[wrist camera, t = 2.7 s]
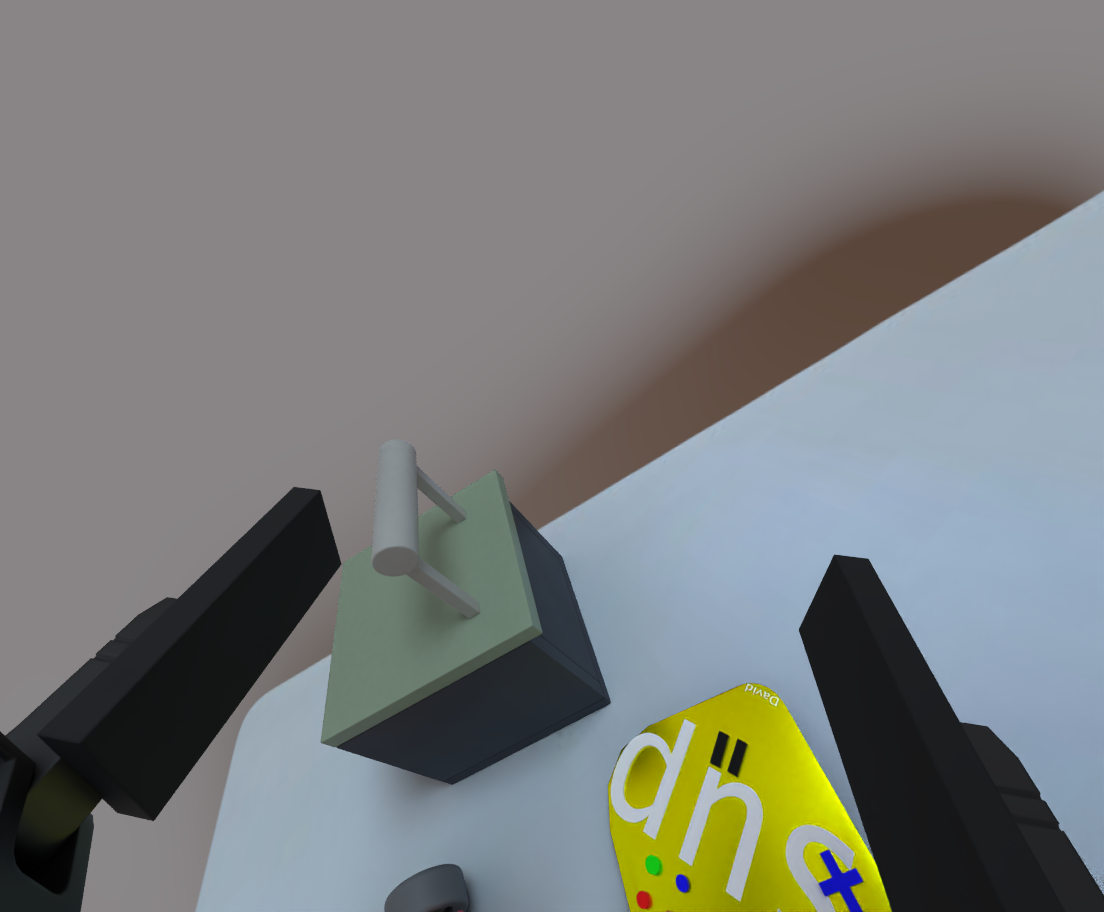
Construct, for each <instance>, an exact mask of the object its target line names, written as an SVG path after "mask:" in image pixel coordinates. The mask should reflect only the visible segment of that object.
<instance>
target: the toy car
mask: <svg viewBox="0 0 1104 912" xmlns="http://www.w3.org/2000/svg"><path fill="white" fill-rule="evenodd" d="M468 905H469V900H468V895H467V890H466V885H465V881H464V876H463V872H462V870H461V868H460V867H459V866H457V865H454V864H443V865H438V866H434V867H431V868H428V869H426V870H423V871H421V872H419V873H417V874H415V875H413V876H412V877H410V878H408V879H407V880H405V881H404V882H402V883H401V884H400V885H399V886H397V887H396V888H395V889H394V890H393V891H392V892H391V893H390V895H389V896H388V898H387V900H386V902H385V909H384V910H385V912H466V911H467V909H468Z"/></svg>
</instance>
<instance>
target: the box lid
mask: <svg viewBox="0 0 1104 912" xmlns="http://www.w3.org/2000/svg"><path fill="white" fill-rule="evenodd" d="M377 470H378V471H377V484H376V499H375V512H374V529H373V542H372V546H370V547H368V548H367V549H365V550H363V551H362V552H360V553H358V554H357V555H355V556H354V557H352V558H350V559H349V560H347V561H346V562H344V564H343V571H342V579H341V587H340V594H339V603H338V610H337V618H336V627H335V634H334V642H333V650H332V657H331V665H330V673H329V681H328V689H327V697H326V705H325V712H324V720H323V728H322V736H321V743H323V744H326V745H329V746H332V747H337V746H339V745H340V744H342V743H344V742H346V741H348V740H350V739H351V738H353V737H355V736H357V735H359V734H360V733H362V732H364V731H366V730H368V729H369V728H371V727H373V726H375V725H377V724H379V723H380V722H382V721H384V720H386V719H388V718H389V717H391V716H393V715H395V714H397V713H399V712H400V711H402V710H404V709H406V708H408V707H409V706H411V705H413V704H415V703H417V702H419V701H420V700H422V699H424V698H426V697H428V696H429V695H431V694H433V693H435V692H437V691H439V690H440V689H442V688H444V687H446V686H448V685H449V684H451V683H453V682H455V681H457V680H459V679H460V678H462V677H464V676H466V675H468V674H469V673H471V672H473V671H475V670H477V669H479V668H480V667H482V666H484V665H486V664H488V663H489V662H491V661H493V660H495V659H497V658H499V657H500V656H502V655H504V654H506V653H508V652H509V651H511V650H513V649H515V648H517V647H519V646H520V645H522V644H524V643H526V642H528V641H529V640H531V639H533V638H535V637H537V636H539V635H540V634H542V629H541V625H540V621H539V617H538V613H537V609H536V605H535V601H534V597H533V593H532V589H531V585H530V581H529V578H528V574H527V570H526V566H525V562H524V558H523V554H522V550H521V546H520V542H519V538H518V534H517V530H516V526H515V522H514V518H513V515H512V511H511V507H510V503H509V499H508V495H507V491H506V487H505V483H504V479H503V477H502V476H501V475H500V474H499V473H498V472H497V471H496V470H494V471H492V472H490V473H489V474H487V475H485V476H484V477H482V478H481V479H479V480H477V481H476V482H474V483H473V484H471V485H469V486H468V487H466V488H464V489H463V490H461V491H459V492H458V493H456V494H454V495H453V496H451V497H450V496H449V495H448V494H446V493H445V492H444V491H443V490H442V489H441V488H440V487H439V486H438V485H437V484H436V483H435V482H434V481H433V480H432V479H430V478H429V477H428V476H427V475H426V474H425V473H424V472H423V471H422V470H421V469H420V468H419V467H418V466H417V465H416V451H415V449H414V447H413V446H412V445H411V444H410V443H408V442H406V441H404V440H391V441H388V442H386V443H385V444H384V445H382V446H381V448H380V450H379V455H378V469H377ZM417 488H418V489H419V490H421V491H422V492H423V493H424V494H425V495H426V496H427V497H428V498H429V499H431V500H432V501H433V502H434V503H435V504H436V505H437V506H435V507H433V508H432V509H430V510H428V511H427V512H425V513H424V514H422V515H420V516H419V517H418V496H417Z"/></svg>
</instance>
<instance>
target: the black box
mask: <svg viewBox="0 0 1104 912" xmlns="http://www.w3.org/2000/svg"><path fill="white" fill-rule="evenodd" d="M509 503H510V507H511V511H512V515H513V518H514V522H515V526H516V530H517V534H518V538H519V542H520V546H521V550H522V554H523V558H524V562H525V566H526V570H527V574H528V578H529V581H530V585H531V589H532V593H533V597H534V601H535V605H536V609H537V613H538V617H539V621H540V625H541V629H542V634H540V635H539V636H537V637H535V638H533V639H531V640H529V641H528V642H526V643H524V644H522V645H520V646H519V647H517V648H515V649H513V650H511V651H509V652H508V653H506V654H504V655H502V656H500V657H499V658H497V659H495V660H493V661H491V662H489V663H488V664H486V665H484V666H482V667H480V668H479V669H477V670H475V671H473V672H471V673H469V674H468V675H466V676H464V677H462V678H460V679H459V680H457V681H455V682H453V683H451V684H449V685H448V686H446V687H444V688H442V689H440V690H439V691H437V692H435V693H433V694H431V695H429V696H428V697H426V698H424V699H422V700H420V701H419V702H417V703H415V704H413V705H411V706H409V707H408V708H406V709H404V710H402V711H400V712H399V713H397V714H395V715H393V716H391V717H389V718H388V719H386V720H384V721H382V722H380V723H379V724H377V725H375V726H373V727H371V728H369V729H368V730H366V731H364V732H362V733H360V734H359V735H357V736H355V737H353V738H351V739H350V740H348V741H346V742H344V743H342V744H340V745H339V746H337V748H339V749H342V750H345V751H348V752H351V753H354V754H358V755H361V756H364V757H367V758H370V759H373V760H376V761H380V762H383V763H386V764H389V765H392V766H395V767H398V768H401V769H405V770H408V771H411V772H414V773H417V774H420V775H423V776H427V777H430V778H433V779H436V780H439V781H443V782H446V783H449V784H454V783H456V782H458V781H460V780H462V779H464V778H466V777H468V776H470V775H472V774H474V773H476V772H478V771H479V770H481V769H483V768H485V767H487V766H489V765H491V764H493V763H495V762H497V761H499V760H501V759H503V758H505V757H507V756H509V755H511V754H512V753H514V752H516V751H518V750H520V749H522V748H524V747H526V746H528V745H530V744H532V743H534V742H536V741H538V740H540V739H542V738H543V737H545V736H547V735H549V734H551V733H553V732H555V731H557V730H559V729H561V728H563V727H565V726H567V725H569V724H571V723H573V722H575V721H576V720H578V719H580V718H582V717H584V716H586V715H588V714H590V713H592V712H594V711H596V710H598V709H600V708H602V707H604V706H606V705H607V704H609V703H611V701H610V698H609V695H608V692H607V689H606V686H605V683H604V680H603V677H602V674H601V671H600V668H599V665H598V662H597V659H596V656H595V653H594V650H593V648H592V645H591V642H590V639H589V636H588V633H587V630H586V627H585V624H584V621H583V618H582V615H581V612H580V609H579V606H578V603H577V600H576V597H575V594H574V591H573V588H572V585H571V582H570V579H569V576H568V573H567V570H566V567H565V564H564V561H563V558H562V556H561V555H560V554H559V553H558V552H557V551H556V550H555V549H554V548H553V547H552V546H551V545H550V544H549V543H548V541H547V540H546V539H545V538H544V537H543V536H542V535H541V534H540V533H539V532H538V531H537V530H536V529H535V528H534V527H533V526H532V525H531V523H530V522H529V521H528V520H527V519H526V518H525V517H524V516H523V515H522V514H521V513H520V512H519V511H518V510H517V509H516V508H515V507H514V506H513V504H512V503H511V502H510V501H509Z"/></svg>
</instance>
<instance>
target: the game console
mask: <svg viewBox="0 0 1104 912" xmlns="http://www.w3.org/2000/svg"><path fill="white" fill-rule="evenodd" d="M608 797H609V818H610V832H611V836H612V840H613V844H614V848H615V852H616V856H617V860H618V864H619V868H620V872H621V876H622V880H623V884H624V888H625V892H626V896H627V900H628V904H629V908H630V912H892V911H891V908H890V905H889V902H888V899H887V896H886V893H885V890H884V887H883V883H882V880H881V877H880V874H879V871H878V868H877V865H876V863H875V861H874V859H873V857H872V856H871V854H870V852H869V851H868V849H867V847H866V845H865V844H864V842H863V840H862V838H861V837H860V835H859V833H858V831H857V830H856V828H855V826H854V824H853V823H852V821H851V819H850V817H849V816H848V814H847V812H846V810H845V809H844V807H843V805H842V803H841V802H840V800H839V798H838V796H837V795H836V793H835V791H834V789H833V788H832V786H831V784H830V782H829V781H828V779H827V777H826V776H825V774H824V772H823V770H822V769H821V767H820V765H819V763H818V762H817V760H816V758H815V756H814V755H813V753H812V751H811V749H810V748H809V746H808V744H807V742H806V741H805V739H804V737H803V735H802V734H801V732H800V730H799V728H798V727H797V725H796V723H795V721H794V720H793V718H792V716H791V714H790V713H789V711H788V709H787V708H786V706H785V704H784V703H783V701H782V700H781V699H780V697H779V696H778V695H777V694H776V693H775V692H773V691H772V690H771V689H769V688H768V687H765V686H762V685H760V684H753V683H746V684H743V685H740V686H737V687H735V688H733V689H730V690H728V691H726V692H724V693H721V694H719V695H717V696H715V697H713V698H710V699H708V700H706V701H704V702H701V703H699V704H697V705H695V706H692V707H690V708H688V709H686V710H683V711H681V712H679V713H677V714H675V715H672V716H670V717H668V718H666V719H663V720H661V721H659V722H657V723H654V724H652V725H650V726H648V727H647V728H646V729H644V730H643V731H642V732H641V733H640V734H639V735H638V736H636V737H635V738H634V739H633V740H631V741H630V742H629V743H628V744H627V745H626V746H625V747H624V748H623V749H622V750H621V753H620V755H619V758H618V760H617V763H616V766H615V768H614V771H613V773H612V776H611V779H610V781H609V784H608Z"/></svg>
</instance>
